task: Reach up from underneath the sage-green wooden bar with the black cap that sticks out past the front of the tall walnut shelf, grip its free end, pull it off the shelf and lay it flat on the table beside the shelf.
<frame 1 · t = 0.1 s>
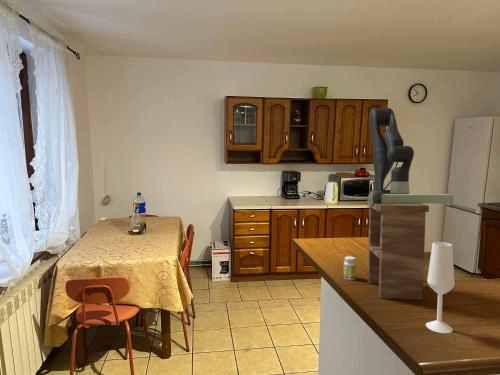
hand: (399, 228, 149), 17 cm above the worktop, tool pointing down, fingers open, 8 cm apart
walnut shelf: (393, 289, 125), on the worktop
supplement bottle: (349, 278, 138), on the worktop
capped bar: (410, 202, 122), point 32 cm above the worktop, touching walnut shelf
champagne flute: (438, 327, 97), on the worktop
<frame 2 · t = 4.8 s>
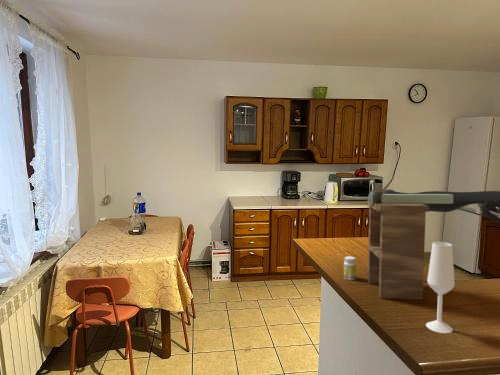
hand: (492, 205, 120), 31 cm above the worktop, tool pointing upward, fingers open, 8 cm apart
nothing on the worktop moved.
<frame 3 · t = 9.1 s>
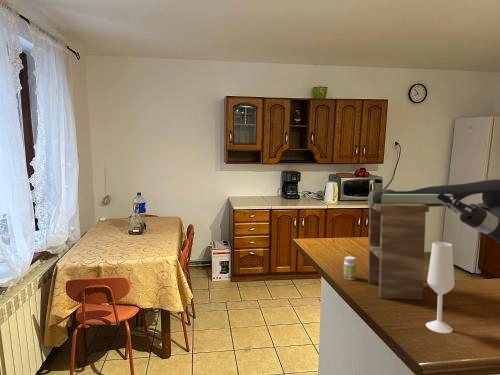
hand: (436, 194, 121), 35 cm above the worktop, tool pointing upward, fingers closed on capped bar, 3 cm apart
capped bar: (410, 202, 122), point 32 cm above the worktop, touching gripper, walnut shelf
everything else where it was.
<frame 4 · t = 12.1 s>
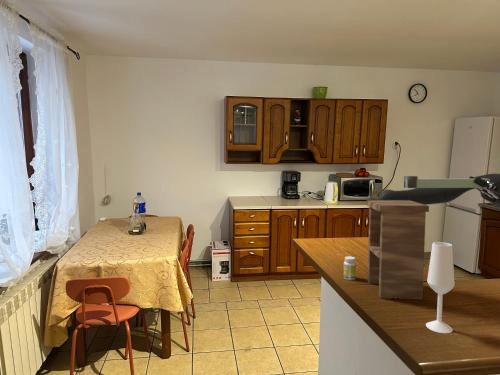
hand: (472, 178, 120), 41 cm above the worktop, tool pointing upward, fingers closed on capped bar, 3 cm apart
capped bar: (445, 187, 121), point 38 cm above the worktop, touching gripper
everything else where it was.
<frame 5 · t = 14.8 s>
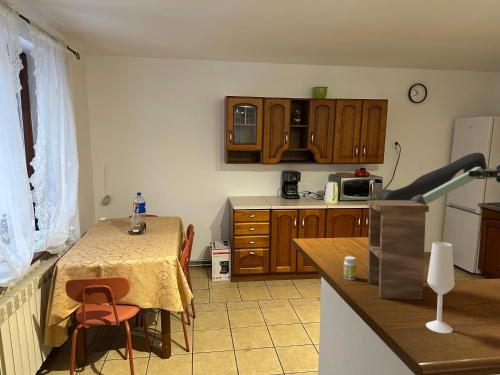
hand: (466, 173, 134), 42 cm above the worktop, tool horizontal, fingers closed on capped bar, 3 cm apart
capped bar: (449, 191, 135), point 35 cm above the worktop, tilted 29°, touching gripper
everything else where it was.
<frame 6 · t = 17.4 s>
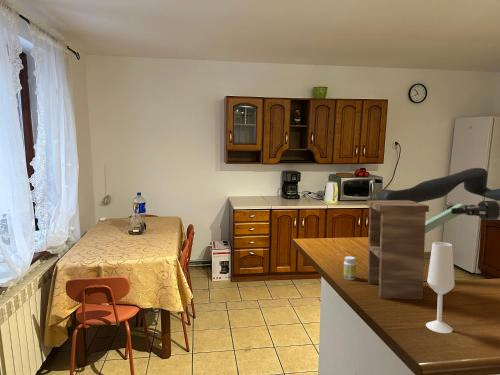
hand: (449, 210, 136), 27 cm above the worktop, tool horizontal, fingers closed on capped bar, 3 cm apart
capped bar: (432, 227, 137), point 20 cm above the worktop, tilted 30°, touching gripper
everything else where it was.
when the fingers open (16 cm above the worktop, at t = 19.6 s): capped bar drops 9 cm, on the worktop.
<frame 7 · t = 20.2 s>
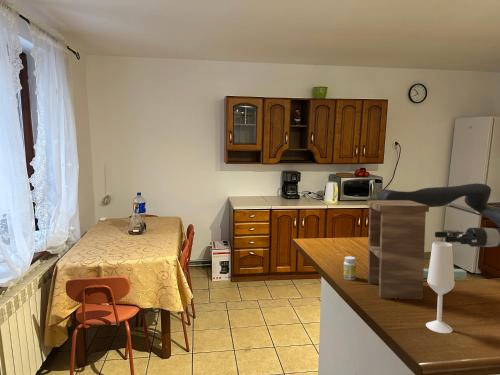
hand: (440, 236, 137), 17 cm above the worktop, tool horizontal, fingers open, 8 cm apart
capped bar: (427, 277, 139), on the worktop
everything else where it was.
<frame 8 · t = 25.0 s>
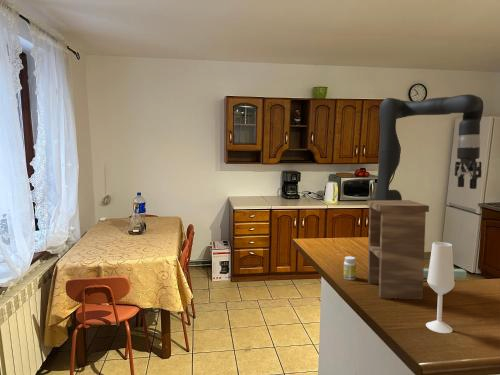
hand: (466, 187, 136), 36 cm above the worktop, tool pointing down, fingers open, 8 cm apart
nothing on the worktop moved.
at the end: capped bar inside the target area (8.0 cm from its centre), on the worktop; the gripper is holding nothing; capped bar tilted 0° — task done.
